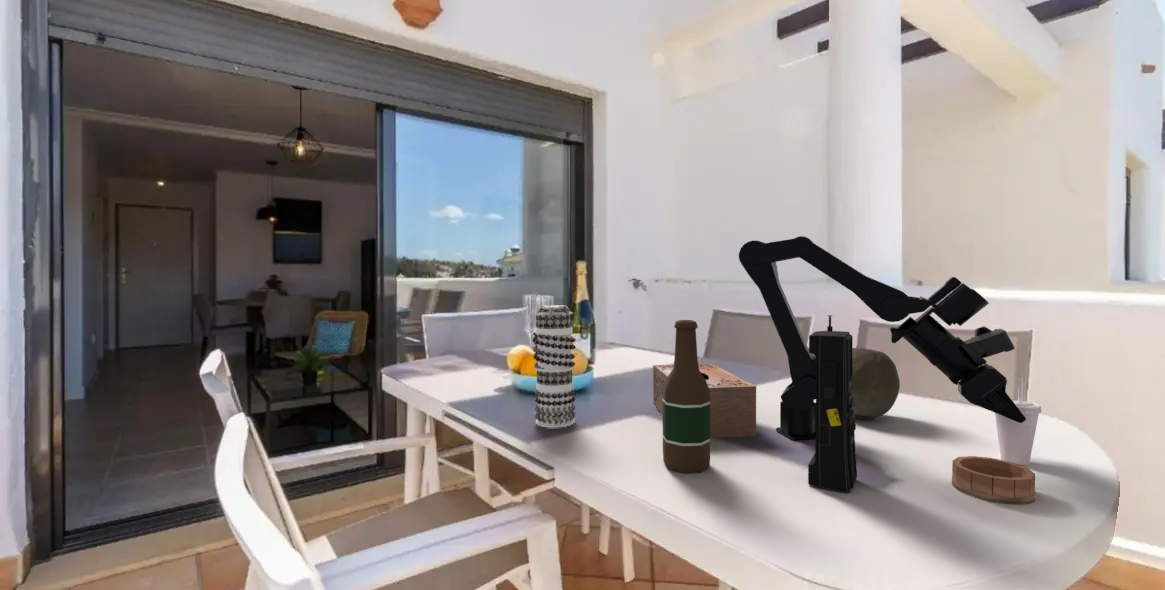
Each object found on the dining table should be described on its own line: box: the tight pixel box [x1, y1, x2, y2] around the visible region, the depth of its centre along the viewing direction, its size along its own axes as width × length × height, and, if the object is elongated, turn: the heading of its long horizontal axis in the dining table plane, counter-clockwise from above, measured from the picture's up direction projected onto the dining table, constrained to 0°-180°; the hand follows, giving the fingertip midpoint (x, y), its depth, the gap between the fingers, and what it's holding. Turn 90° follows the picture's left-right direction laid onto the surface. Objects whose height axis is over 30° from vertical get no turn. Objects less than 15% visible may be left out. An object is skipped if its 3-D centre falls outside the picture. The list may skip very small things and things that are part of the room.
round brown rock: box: [850, 347, 901, 421], centre depth 116 cm, size 14×14×15 cm
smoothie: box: [994, 376, 1042, 466], centre depth 89 cm, size 6×6×14 cm
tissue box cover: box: [652, 363, 757, 439], centre depth 116 cm, size 26×14×10 cm, turn 5°
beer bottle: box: [662, 319, 711, 474], centre depth 88 cm, size 8×8×24 cm
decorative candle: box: [531, 304, 576, 428], centre depth 114 cm, size 9×9×25 cm
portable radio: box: [807, 314, 858, 494], centre depth 80 cm, size 8×6×25 cm
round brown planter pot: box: [951, 455, 1036, 505], centre depth 77 cm, size 10×10×3 cm
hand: (1016, 414), depth 89 cm, fingers open, 9 cm apart
